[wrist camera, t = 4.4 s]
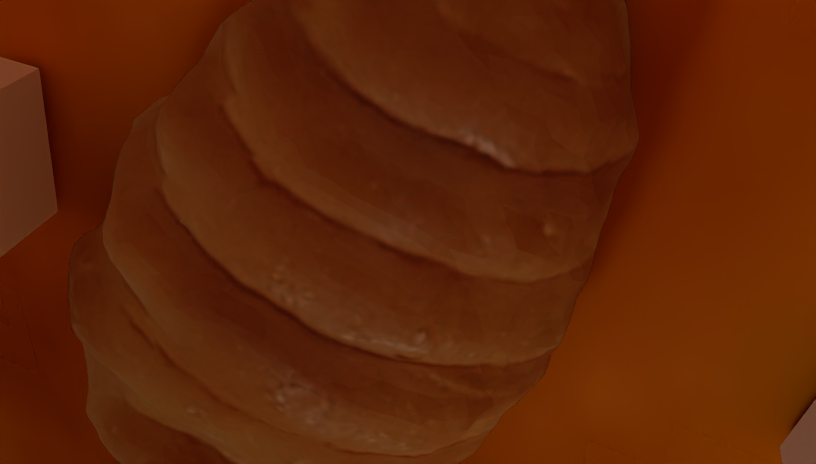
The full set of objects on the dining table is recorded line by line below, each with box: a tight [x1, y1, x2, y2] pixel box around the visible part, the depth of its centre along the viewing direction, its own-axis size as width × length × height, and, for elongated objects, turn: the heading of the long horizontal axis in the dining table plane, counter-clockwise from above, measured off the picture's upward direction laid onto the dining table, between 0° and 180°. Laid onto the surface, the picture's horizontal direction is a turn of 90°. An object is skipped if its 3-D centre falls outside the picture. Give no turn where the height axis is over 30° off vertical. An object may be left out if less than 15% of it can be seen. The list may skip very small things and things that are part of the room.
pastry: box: [68, 0, 639, 464], centre depth 10 cm, size 9×7×4 cm
